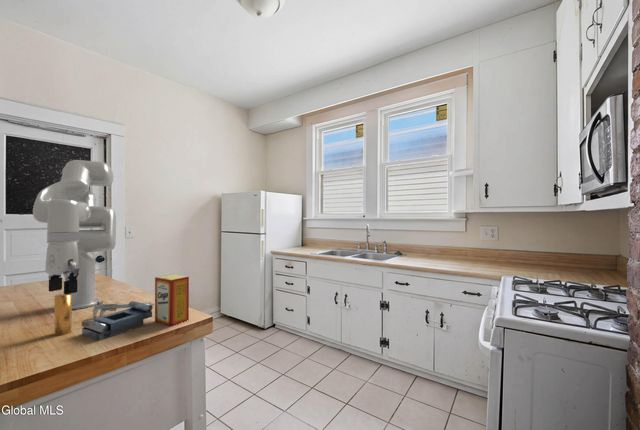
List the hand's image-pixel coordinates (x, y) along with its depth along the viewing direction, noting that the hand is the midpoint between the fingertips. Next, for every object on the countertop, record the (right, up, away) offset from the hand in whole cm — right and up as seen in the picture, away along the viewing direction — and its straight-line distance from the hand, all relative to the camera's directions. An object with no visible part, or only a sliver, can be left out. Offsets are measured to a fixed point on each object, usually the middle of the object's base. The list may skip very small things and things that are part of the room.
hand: (62, 291), depth 88 cm
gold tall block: (0, -13, 0) cm, 13 cm away
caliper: (+5, -14, +21) cm, 26 cm away
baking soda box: (+29, -14, +11) cm, 34 cm away
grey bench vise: (+15, -13, +4) cm, 20 cm away
